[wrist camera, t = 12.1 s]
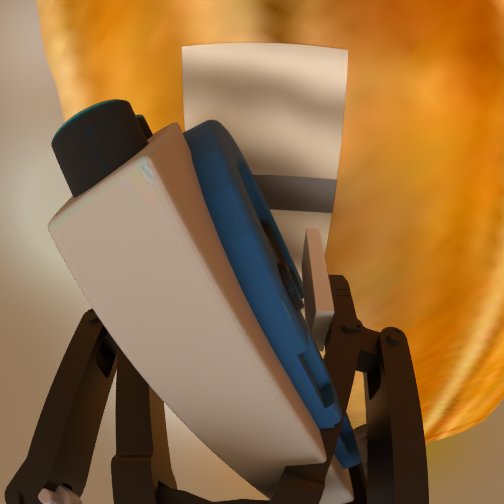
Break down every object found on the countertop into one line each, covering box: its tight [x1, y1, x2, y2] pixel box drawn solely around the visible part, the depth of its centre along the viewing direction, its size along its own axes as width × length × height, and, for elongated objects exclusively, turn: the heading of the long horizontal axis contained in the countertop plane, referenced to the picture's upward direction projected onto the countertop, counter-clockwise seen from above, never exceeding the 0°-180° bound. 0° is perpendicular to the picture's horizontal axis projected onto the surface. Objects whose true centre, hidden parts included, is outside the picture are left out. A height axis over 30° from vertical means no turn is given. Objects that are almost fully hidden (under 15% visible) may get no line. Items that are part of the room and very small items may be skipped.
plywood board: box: [182, 43, 348, 319], centre depth 28 cm, size 36×12×1 cm, turn 179°
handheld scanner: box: [48, 99, 367, 504], centre depth 15 cm, size 5×16×20 cm, turn 25°
